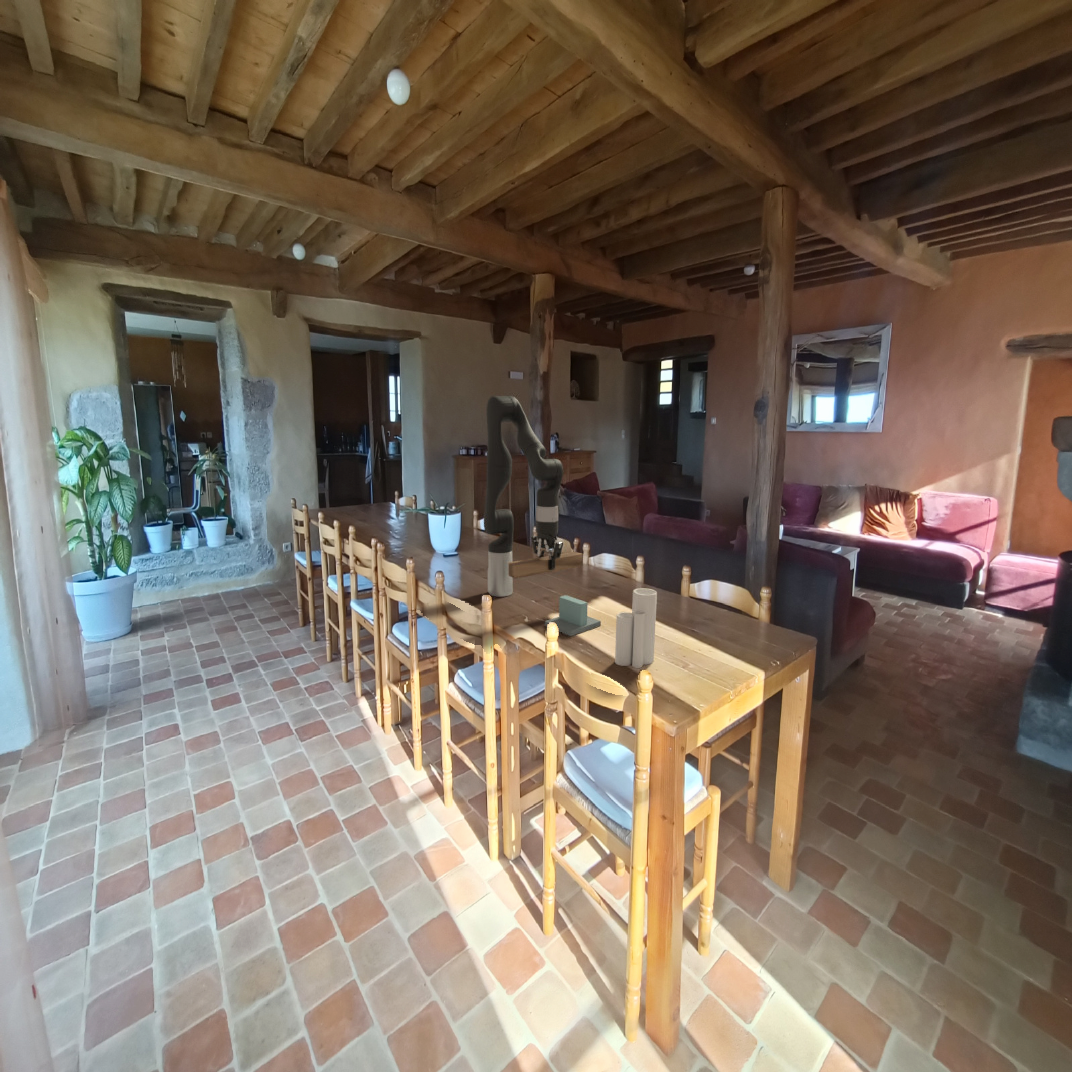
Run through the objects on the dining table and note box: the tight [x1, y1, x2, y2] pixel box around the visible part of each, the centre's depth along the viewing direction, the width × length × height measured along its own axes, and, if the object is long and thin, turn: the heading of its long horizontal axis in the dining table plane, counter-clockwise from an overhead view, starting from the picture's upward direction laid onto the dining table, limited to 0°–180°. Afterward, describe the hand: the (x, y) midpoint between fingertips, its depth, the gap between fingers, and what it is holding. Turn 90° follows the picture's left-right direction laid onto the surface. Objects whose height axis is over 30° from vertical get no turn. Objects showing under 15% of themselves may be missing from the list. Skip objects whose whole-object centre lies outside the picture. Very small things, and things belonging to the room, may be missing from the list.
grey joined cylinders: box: [614, 587, 658, 669], centre depth 150 cm, size 11×7×20 cm, turn 120°
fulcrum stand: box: [544, 594, 602, 637], centre depth 177 cm, size 12×14×9 cm
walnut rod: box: [509, 551, 584, 579], centre depth 184 cm, size 4×28×4 cm, turn 124°
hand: (546, 568), depth 185 cm, fingers closed on walnut rod, 4 cm apart
